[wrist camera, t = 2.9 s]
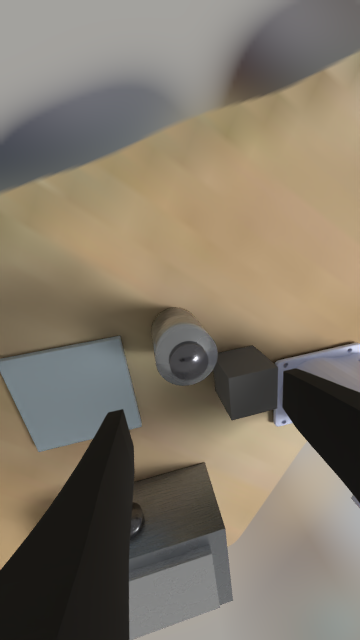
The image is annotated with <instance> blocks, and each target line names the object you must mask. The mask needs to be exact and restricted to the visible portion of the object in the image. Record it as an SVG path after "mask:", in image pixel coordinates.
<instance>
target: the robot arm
mask: <svg viewBox="0 0 360 640" xmlns="http://www.w3.org/2000/svg"><path fill="white" fill-rule="evenodd" d="M285 363H286V364H285ZM284 364H285V365H284ZM275 365H276V366H278V398H277V409H274V424H275V425H276V426H283V425H286V424H290V423H293V424H294V425H295V427H296V428H297V429H298V431H299V432H300V433H301V434H302V435H303V436H304V438H305V439H306V440H307V441H308V442H309V443H310V444H311V446H312V447H313V448H314V449H315V450H316V451H317V453H319V455H320V456H321V457H322V458H323V459H324V461H325V462H326V463H327V464H328V465H329V466H330V467H331V468H332V470H333V471H334V472H335V473H336V474H337V475H338V477H339V478H340V479H341V480H342V481H343V482H344V484H345V485H346V486H347V487H348V488H349V490H350V491H351V492H352V494H353V496H352V500H353V501H354V502H355V503H356V504H357V506H358V507H359V508H360V344H359V343H352V344H348V345H344V346H339V347H335V348H330V349H326V350H322V351H317V352H313V353H308V354H304V355H300V356H295V357H291V358H286V359H282V360H278V361H277V362H275ZM283 365H284V366H283ZM133 488H134V446H133V442H132V439H131V435H130V432H129V428H128V424H127V421H126V417H125V414H124V410H123V409H121V410H116V411H112V412H108V413H107V415H106V416H105V418H104V420H103V422H102V424H101V426H100V427H99V429H98V431H97V433H96V435H95V436H94V438H93V440H92V442H91V443H90V445H89V447H88V448H87V450H86V452H85V453H84V455H83V457H82V459H81V460H80V462H79V463H78V465H77V467H76V468H75V470H74V471H73V473H72V474H71V476H70V477H69V479H68V480H67V482H66V484H65V485H64V487H63V488H62V490H61V491H60V493H59V494H58V496H57V497H56V498H55V500H54V501H53V503H52V504H51V506H50V507H49V508H48V510H47V511H46V512H45V514H44V515H43V517H42V518H41V519H40V521H39V522H38V523H37V525H36V526H35V527H34V529H33V530H32V531H31V533H30V534H29V535H28V536H27V538H26V539H25V540H24V542H23V543H22V544H21V545H20V547H19V548H18V549H17V550H16V552H15V553H14V554H13V555H12V557H11V558H10V559H9V560H8V562H7V563H6V564H5V565H4V567H3V568H2V569H1V570H0V640H130V638H129V548H130V532H131V518H132V503H133Z"/></svg>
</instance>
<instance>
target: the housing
mask: <svg viewBox="0 0 360 640" xmlns="http://www.w3.org/2000/svg"><path fill="white" fill-rule="evenodd" d="M230 601H233V598H232V588H231V579H230V570H229V560H228V550H227V541H226V531H225V526H224V523H223V520H222V517H221V513H220V510H219V507H218V504H217V500H216V497H215V494H214V491H213V488H212V484H211V481H210V478H209V475H208V471H207V468H206V465H205V463H202V464H198V465H194V466H191V467H187V468H184V469H180V470H177V471H173V472H169V473H166V474H162V475H159V476H155V477H151V478H148V479H144V480H141V481H137V482H134V488H133V503H132V518H131V532H130V548H129V638H130V640H133V639H136V638H138V637H141V636H144V635H146V634H149V633H152V632H155V631H157V630H160V629H163V628H165V627H168V626H171V625H174V624H176V623H179V622H182V621H184V620H187V619H190V618H193V617H195V616H198V615H201V614H203V613H206V612H209V611H211V610H214V609H217V608H220V605H222V604H224V603H227V602H230Z"/></svg>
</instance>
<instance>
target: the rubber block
mask: <svg viewBox="0 0 360 640" xmlns="http://www.w3.org/2000/svg"><path fill="white" fill-rule="evenodd" d="M213 370H214V381H215V391H216V392H217V394H218V396H219V398H220V400H221V402H222V404H223V405H224V407H225V409H226V411H227V413H228V415H229V416H230V418H231V420H235V419H239V418H243V417H247V416H250V415H254V414H258V413H262V412H266V411H270V410H274V409H277V398H278V366H276V365H275V364H274V363H273V362H272V361H270V360H269V359H268V358H267V357H266V356H265V355H263V354H262V353H261V352H260V351H259V350H258V349H256V348H255V347H254V346H248V347H244V348H239V349H234V350H230V351H225V352H221V353H218V357H217V362H216V365H215V367H214V369H213Z"/></svg>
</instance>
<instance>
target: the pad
mask: <svg viewBox="0 0 360 640" xmlns="http://www.w3.org/2000/svg"><path fill="white" fill-rule="evenodd" d="M0 372H1V375H2V377H3V379H4V381H5V383H6V385H7V387H8V389H9V391H10V393H11V395H12V397H13V400H14V402H15V404H16V406H17V408H18V410H19V412H20V414H21V416H22V418H23V420H24V422H25V424H26V427H27V429H28V431H29V433H30V435H31V437H32V439H33V441H34V443H35V445H36V447H37V449H38V451H39V452H41V451H45V450H49V449H53V448H57V447H61V446H65V445H69V444H73V443H77V442H82V441H86V440H90V439H93V438H94V436H95V435H96V433H97V431H98V429H99V427H100V426H101V424H102V422H103V420H104V418H105V416H106V415H107V413H108V412H112V411H116V410H121V409H123V410H124V414H125V417H126V421H127V424H128V428H129V430H130V429H134V428H138V427H142V422H141V418H140V413H139V409H138V405H137V401H136V397H135V393H134V389H133V385H132V381H131V377H130V373H129V369H128V365H127V361H126V357H125V353H124V349H123V345H122V341H121V337H120V336H116V337H110V338H105V339H100V340H95V341H90V342H84V343H79V344H74V345H69V346H64V347H58V348H53V349H48V350H43V351H38V352H33V353H27V354H22V355H17V356H12V357H7V358H1V359H0Z"/></svg>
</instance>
